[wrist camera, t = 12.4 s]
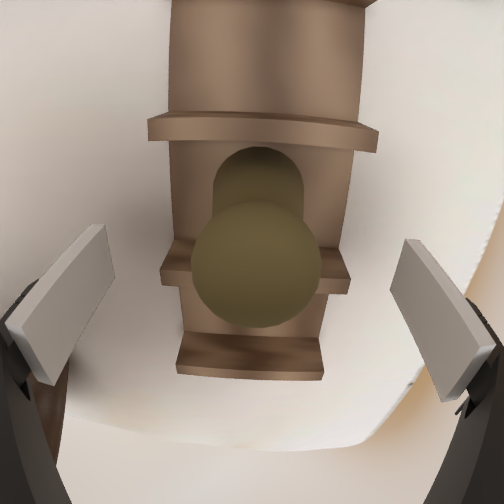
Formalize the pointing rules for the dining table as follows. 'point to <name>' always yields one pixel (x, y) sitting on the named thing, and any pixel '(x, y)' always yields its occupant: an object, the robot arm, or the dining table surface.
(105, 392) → the dining table surface
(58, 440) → the plant pot
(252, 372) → the spice rack
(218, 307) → the olive peg figure
